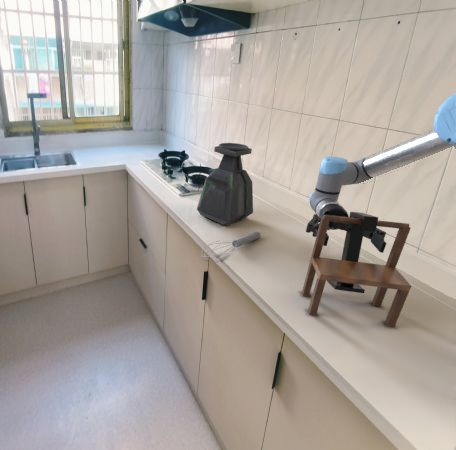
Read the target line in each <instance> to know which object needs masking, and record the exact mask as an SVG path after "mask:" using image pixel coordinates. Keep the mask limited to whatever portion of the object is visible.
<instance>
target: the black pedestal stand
mask: <svg viewBox="0 0 456 450" xmlns="http://www.w3.org/2000/svg"><path fill="white" fill-rule="evenodd" d="M348 216H349V217H350V218H359V219H362V224H352V223H348V227H347V231H345V232H346V234H345V238H344V243H343V248H342V254H341V259H340V260H346V261H354V262H359V259H360V255H361V249H362V244H363V239H364V237H363V234H364V231H371V232H376V228H378V226H377V221H379V217H378V216H374V215H372V214H369V213H366V212H359V211H358V212H357V211H350V212H349V215H348ZM326 282H327V283H328V284H329V285H330V286H331V287H332V288H333V289H334V290H335V291H342V292H343V291H344V292H351V293H357V294H365V289H364V288H363V287H362V285H359V284H352V283H344V282H337V281H329V280H326Z"/></svg>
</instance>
